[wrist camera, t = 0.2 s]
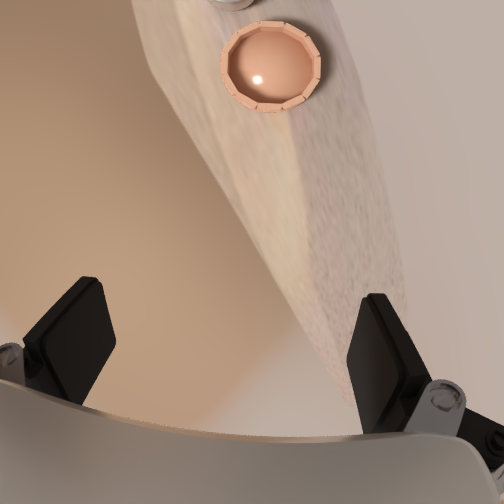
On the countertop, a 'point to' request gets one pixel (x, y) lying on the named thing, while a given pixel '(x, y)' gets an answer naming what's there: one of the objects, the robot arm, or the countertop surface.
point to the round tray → (270, 66)
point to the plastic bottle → (230, 4)
